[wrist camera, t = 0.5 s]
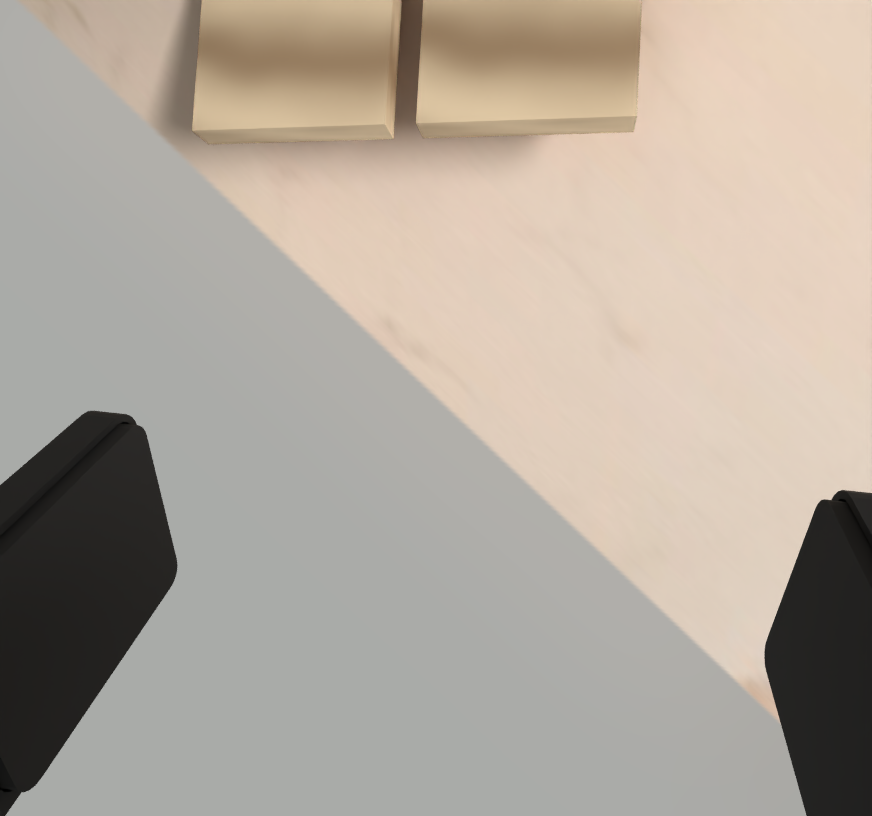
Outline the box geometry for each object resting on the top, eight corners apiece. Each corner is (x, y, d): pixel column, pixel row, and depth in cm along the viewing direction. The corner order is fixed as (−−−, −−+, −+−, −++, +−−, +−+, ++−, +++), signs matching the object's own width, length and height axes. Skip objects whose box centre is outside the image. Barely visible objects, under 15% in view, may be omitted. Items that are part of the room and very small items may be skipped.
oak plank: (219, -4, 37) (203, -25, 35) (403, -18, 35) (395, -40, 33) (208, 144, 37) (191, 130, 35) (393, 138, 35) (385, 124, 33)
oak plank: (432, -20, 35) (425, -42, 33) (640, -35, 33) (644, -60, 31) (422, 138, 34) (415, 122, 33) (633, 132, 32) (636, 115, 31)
